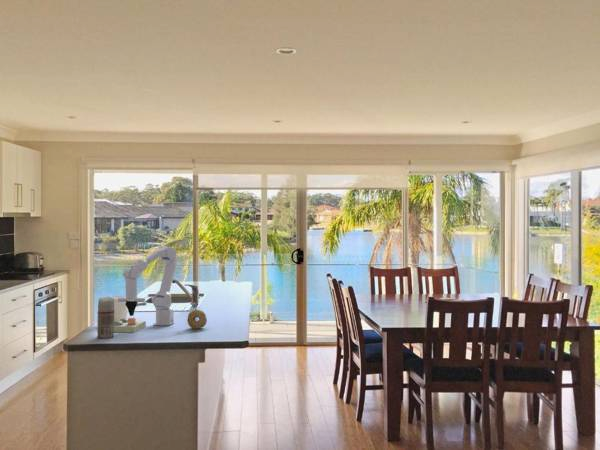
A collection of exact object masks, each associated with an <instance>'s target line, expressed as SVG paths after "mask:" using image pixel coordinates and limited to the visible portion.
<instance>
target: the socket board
mask: <svg viewBox="0 0 600 450" xmlns="http://www.w3.org/2000/svg"><path fill="white" fill-rule="evenodd" d="M146 323H147V321H146V320H136V325H128V322H127V323H122V325H121V326H114V333H136V332H138V331H141V330H142V329H144V328H145V327H146V326H147V324H146Z"/></svg>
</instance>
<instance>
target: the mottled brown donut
mask: <svg viewBox="0 0 600 450" xmlns="http://www.w3.org/2000/svg"><path fill="white" fill-rule="evenodd" d="M196 318H198V320H196ZM207 322H208V319H207V314H206V313H205V312H204V311H202V310H200V309H194V310H192V311H190V312H188V315H187V325H188V327H190V328H192V329H196V330H197V329H202V328H204V327H205V326H206V324H207Z"/></svg>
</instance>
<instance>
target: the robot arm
mask: <svg viewBox="0 0 600 450" xmlns="http://www.w3.org/2000/svg"><path fill="white" fill-rule="evenodd" d="M177 254H178V252H177V250H176V248H175V247H174V246H164V245H160V246H159V247H157V248H156V249H155V250H154V251H153V252H152V253H150V254H149V255H148V256H146V258H145V259H138V260H137V262H135V263H134V264H132V265H130V267H127V268H125V269H124V271H123V273H122V276H123V278H124V280H125V297H126V298H118V302H126V303H125V305H126V306H127V308H128V313H129V316H130V317H133V316H134V315H135V310H136V307H137V305H138V303H145V302H146V298H145V297H144V298H143V297H138V280H137V279H138V278H139V276H140V274H141V273H143V272H144V271H146V269H148V268H149V265H150V264H151V263H153V262H154V261H156V260H157V259H159V258H160V259H162V260H163V261H164V263H165V267H164V271H163V276H162V278H161V279H162V280H161V283H160V287H159V291H157V292H156V293H155V296H154V298H153V300H152V304H153V307H155V308H154V309H155V323H153V326H171V325H172V324H174V323H175V322H174V319H175V318H174V317H175V316H174V315H175V314H174V313H175V312H174V309H173V308H170V307H171V305H172V302H173V301H172V297H173V296H172V295H171V293H170V292H171V288H172V283H173V278H174V274H175V270H176V266H177Z"/></svg>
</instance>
